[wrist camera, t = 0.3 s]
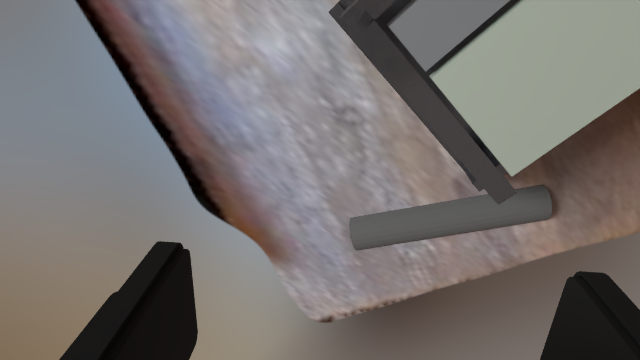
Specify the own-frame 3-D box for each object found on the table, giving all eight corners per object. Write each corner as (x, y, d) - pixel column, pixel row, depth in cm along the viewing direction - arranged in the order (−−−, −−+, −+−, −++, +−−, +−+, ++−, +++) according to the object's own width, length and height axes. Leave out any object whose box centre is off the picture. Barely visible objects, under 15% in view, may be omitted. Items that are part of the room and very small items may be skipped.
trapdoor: (550, -128, 24) (570, -140, 22) (660, 49, 28) (687, 55, 25) (386, 24, 28) (389, 27, 26) (500, 163, 31) (511, 176, 29)
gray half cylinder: (545, 218, 43) (553, 226, 41) (355, 248, 46) (355, 258, 44) (544, 180, 41) (552, 187, 40) (347, 214, 44) (347, 222, 43)
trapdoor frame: (508, -167, 30) (586, -244, 20) (638, 39, 35) (753, 57, 25) (330, 10, 36) (322, 18, 26) (463, 167, 41) (500, 224, 31)
